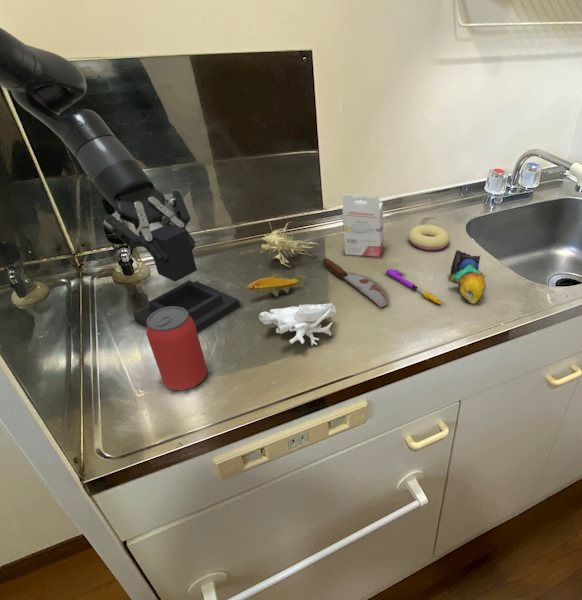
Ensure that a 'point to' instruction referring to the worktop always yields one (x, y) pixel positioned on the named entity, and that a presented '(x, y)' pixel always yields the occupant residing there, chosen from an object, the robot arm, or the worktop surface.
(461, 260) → the figurine
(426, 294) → the marker pen
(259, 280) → the yellow koi
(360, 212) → the ink cartridge box
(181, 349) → the beer can
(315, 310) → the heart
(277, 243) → the cream spiky piece
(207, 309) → the base pad
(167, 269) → the pad block
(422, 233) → the donut
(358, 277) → the kitchen knife
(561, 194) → the worktop surface
